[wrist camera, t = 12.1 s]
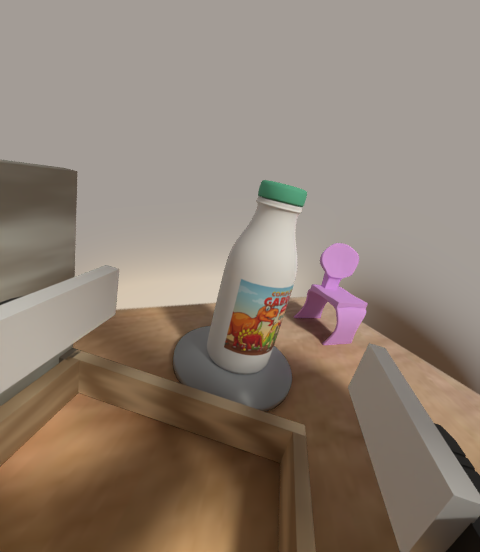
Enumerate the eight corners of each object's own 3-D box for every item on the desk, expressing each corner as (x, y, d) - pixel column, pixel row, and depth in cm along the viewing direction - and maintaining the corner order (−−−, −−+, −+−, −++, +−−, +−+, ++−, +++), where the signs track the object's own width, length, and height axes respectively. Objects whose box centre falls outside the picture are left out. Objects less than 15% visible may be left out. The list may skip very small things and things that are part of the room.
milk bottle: (193, 358, 29) (235, 170, 22) (220, 328, 36) (257, 179, 29) (258, 387, 27) (324, 192, 20) (273, 349, 34) (325, 196, 27)
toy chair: (320, 347, 39) (358, 255, 34) (288, 317, 46) (316, 237, 41) (357, 344, 43) (396, 261, 38) (323, 317, 50) (352, 243, 45)
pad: (289, 348, 37) (290, 344, 36) (291, 434, 23) (293, 428, 23) (196, 320, 38) (197, 315, 37) (149, 386, 25) (150, 380, 24)
